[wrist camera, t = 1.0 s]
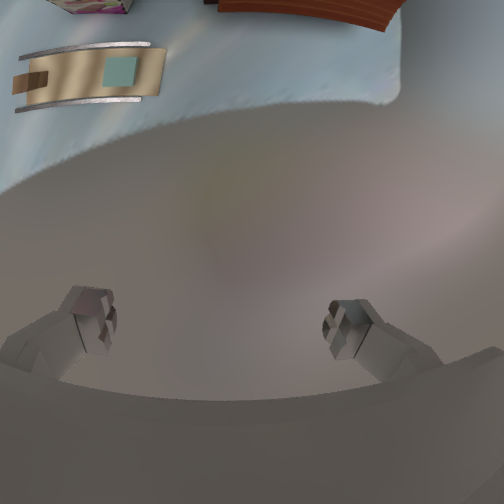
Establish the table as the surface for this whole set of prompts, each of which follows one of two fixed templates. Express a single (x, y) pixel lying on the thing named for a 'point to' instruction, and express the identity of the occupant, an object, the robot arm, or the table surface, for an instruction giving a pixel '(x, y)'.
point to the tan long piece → (87, 75)
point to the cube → (120, 71)
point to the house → (321, 9)
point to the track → (82, 101)
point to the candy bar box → (94, 6)
